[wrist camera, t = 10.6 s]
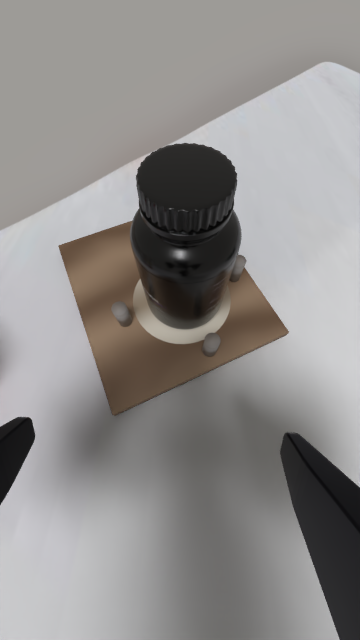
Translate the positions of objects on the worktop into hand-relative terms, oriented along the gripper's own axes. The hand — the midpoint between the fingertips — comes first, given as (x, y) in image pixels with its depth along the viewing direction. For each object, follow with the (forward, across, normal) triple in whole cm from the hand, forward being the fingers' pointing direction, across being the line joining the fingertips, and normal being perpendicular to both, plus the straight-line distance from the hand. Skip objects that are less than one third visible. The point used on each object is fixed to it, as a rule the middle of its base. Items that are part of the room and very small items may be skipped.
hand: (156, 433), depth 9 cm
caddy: (+17, +2, -1) cm, 17 cm away
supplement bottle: (+15, -1, -1) cm, 15 cm away
